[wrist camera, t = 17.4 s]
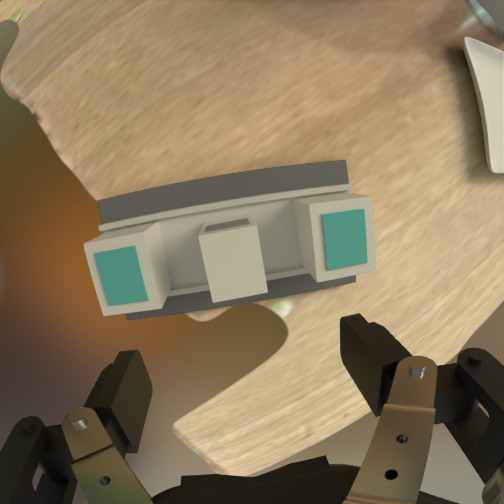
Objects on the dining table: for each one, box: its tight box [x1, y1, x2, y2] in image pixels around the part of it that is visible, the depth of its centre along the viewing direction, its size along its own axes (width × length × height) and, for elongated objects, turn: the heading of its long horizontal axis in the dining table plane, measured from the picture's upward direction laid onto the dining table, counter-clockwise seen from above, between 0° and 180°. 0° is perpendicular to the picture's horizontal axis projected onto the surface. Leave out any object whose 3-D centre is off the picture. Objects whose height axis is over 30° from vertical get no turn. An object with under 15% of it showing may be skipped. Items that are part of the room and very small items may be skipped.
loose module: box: [198, 214, 268, 303], centre depth 28 cm, size 6×4×8 cm
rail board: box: [83, 160, 376, 320], centre depth 29 cm, size 14×27×8 cm, turn 99°
